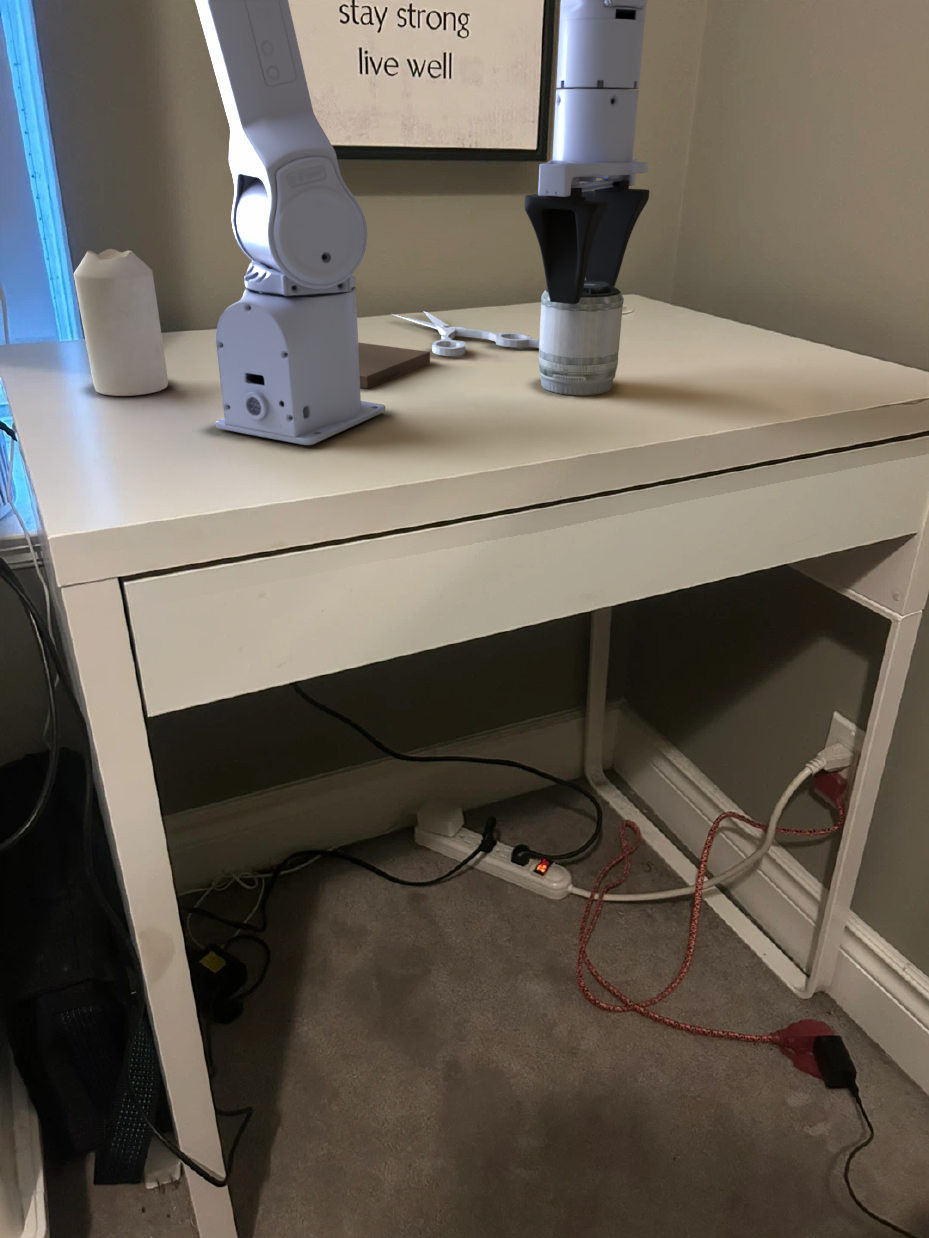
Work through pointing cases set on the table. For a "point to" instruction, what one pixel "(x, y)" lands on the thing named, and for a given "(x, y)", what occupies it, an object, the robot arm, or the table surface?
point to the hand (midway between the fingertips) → (583, 295)
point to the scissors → (458, 347)
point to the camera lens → (581, 341)
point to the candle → (121, 323)
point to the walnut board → (387, 363)
